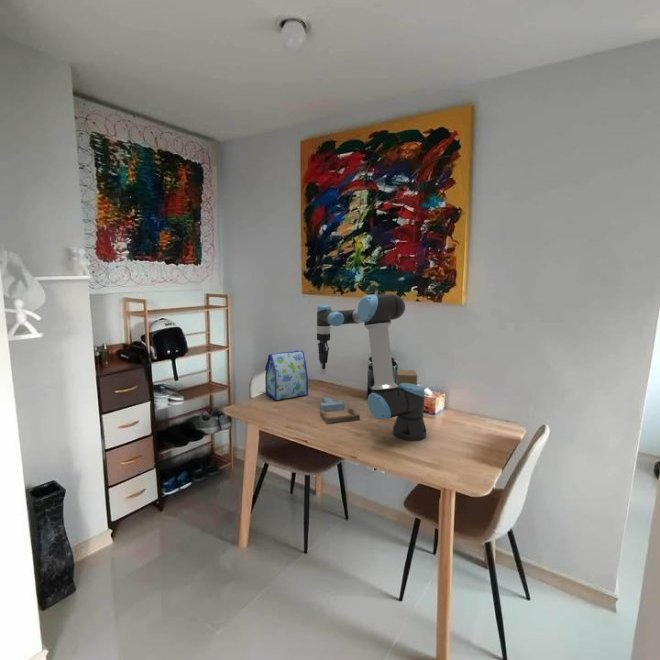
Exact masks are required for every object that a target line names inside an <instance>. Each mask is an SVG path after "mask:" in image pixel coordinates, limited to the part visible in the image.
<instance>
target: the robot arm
mask: <svg viewBox="0 0 660 660" xmlns="http://www.w3.org/2000/svg"><path fill="white" fill-rule="evenodd" d="M331 307H332V306H331V305H329V304H319V305H317V308H316V340H317V341H319V342H318V343H317V348H318V360H319V363H320V366H319V368H320V369H319V371H320V375H326V374H327V373H326V372H327V370H326V369H327V367H326V366H327V365H326V364H327V363H328V361H329V360H328V357H329V351H330V347H329V344H328V341H330V340H331V329H332V327H331V326H333V327H340V326H341V325H353V324H362V323H364V327H365V328H366V329H367V330H368V337H369V345H370V346H369V347H370V355H371V362H372V363H371V365H372V373H373V380H374V384H373V386H371V393H370V394H368V396H367V399H366V401H367V407H368V409H369V411H370V413H371V414H372V416H373V417H375V418H376V419H378V420H389V419H391V418H395V417H396V419H395V421H394V424H393V426H392V435H394V436H395V438H399V439H401V440H403V441H410V442H411V441H421V440H423V439H425V438H426V437H427V428H426V424H425V420H424V413H425V412H424V411H425V399H426V398H425V397H426V396H425V389H424V388H423V387H422V386H420V385H419V384H417V385H415V384H410V383H400V384H399V386H398V385H397V384H396V381H395V377H394V367H393V361H392V359H393V358H392V350H391V342H390V334H389V333H390V332H389V327H390V326H391V324H392V321H393V320H397V319H399V318H401V317H402V316H403V314H404V313H405V311H406V303H405V301H404V299H403V298H402V297H401V296H400V295H397V294H394V293H388V294H385V293H384V294H383V293H382V294H381V293H380V294H379V293H378V294H377V293H376V294H374V293H373V294H367V295H364V296H363V297H361V299H360V301H359V303H358V305H357V308H354V309H349V310H348V309H347V310H332V308H331Z"/></svg>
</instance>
